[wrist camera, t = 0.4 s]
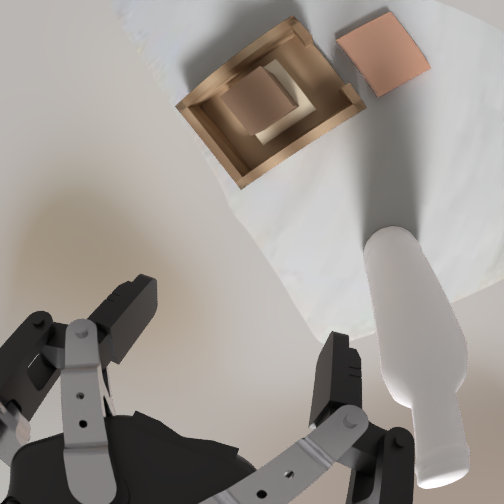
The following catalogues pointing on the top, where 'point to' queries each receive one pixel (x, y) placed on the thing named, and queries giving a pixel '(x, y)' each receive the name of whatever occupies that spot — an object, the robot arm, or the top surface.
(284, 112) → the walnut block
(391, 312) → the bottle
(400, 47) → the terracotta tile
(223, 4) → the top surface
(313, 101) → the oak box
